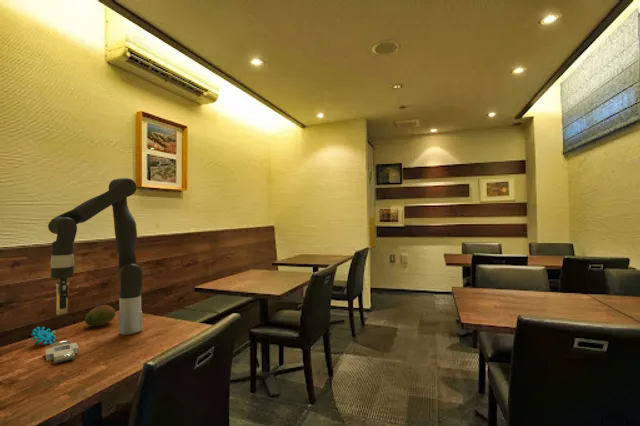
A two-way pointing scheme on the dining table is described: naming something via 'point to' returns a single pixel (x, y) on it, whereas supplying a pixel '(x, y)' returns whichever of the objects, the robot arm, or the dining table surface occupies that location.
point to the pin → (59, 311)
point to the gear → (43, 335)
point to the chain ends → (62, 351)
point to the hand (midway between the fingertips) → (62, 307)
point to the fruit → (100, 315)
